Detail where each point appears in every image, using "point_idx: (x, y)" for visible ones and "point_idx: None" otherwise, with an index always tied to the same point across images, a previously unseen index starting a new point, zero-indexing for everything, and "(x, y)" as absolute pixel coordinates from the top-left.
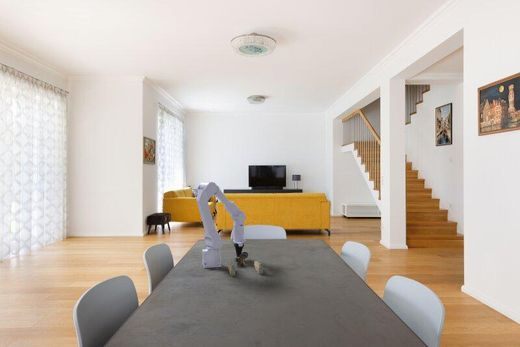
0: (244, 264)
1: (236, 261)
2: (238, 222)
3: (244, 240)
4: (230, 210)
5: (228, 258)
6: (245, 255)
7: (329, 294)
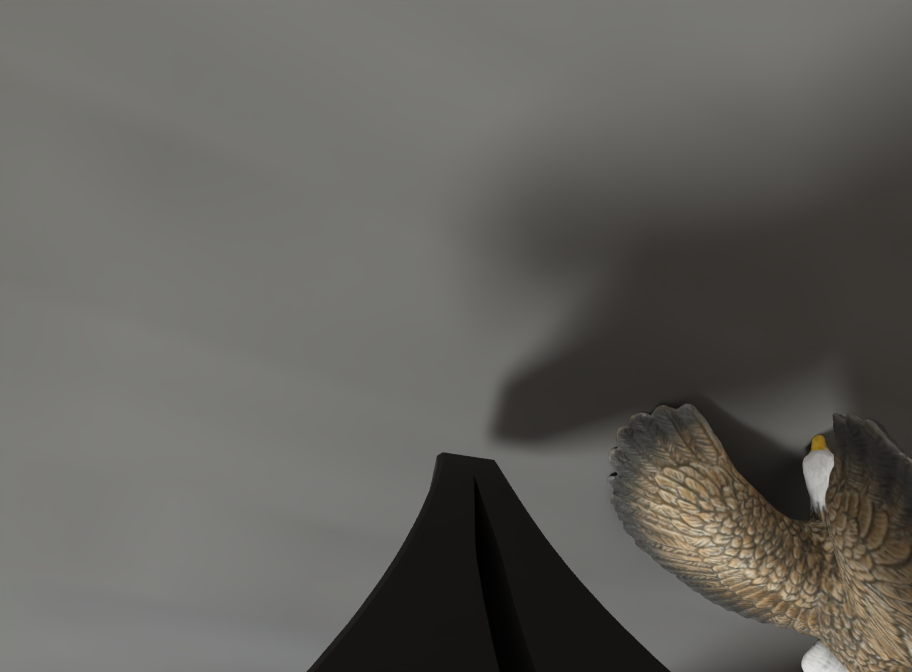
0: (828, 459)
1: (687, 575)
2: None
3: None
4: None
5: (257, 559)
6: (893, 520)
7: None
